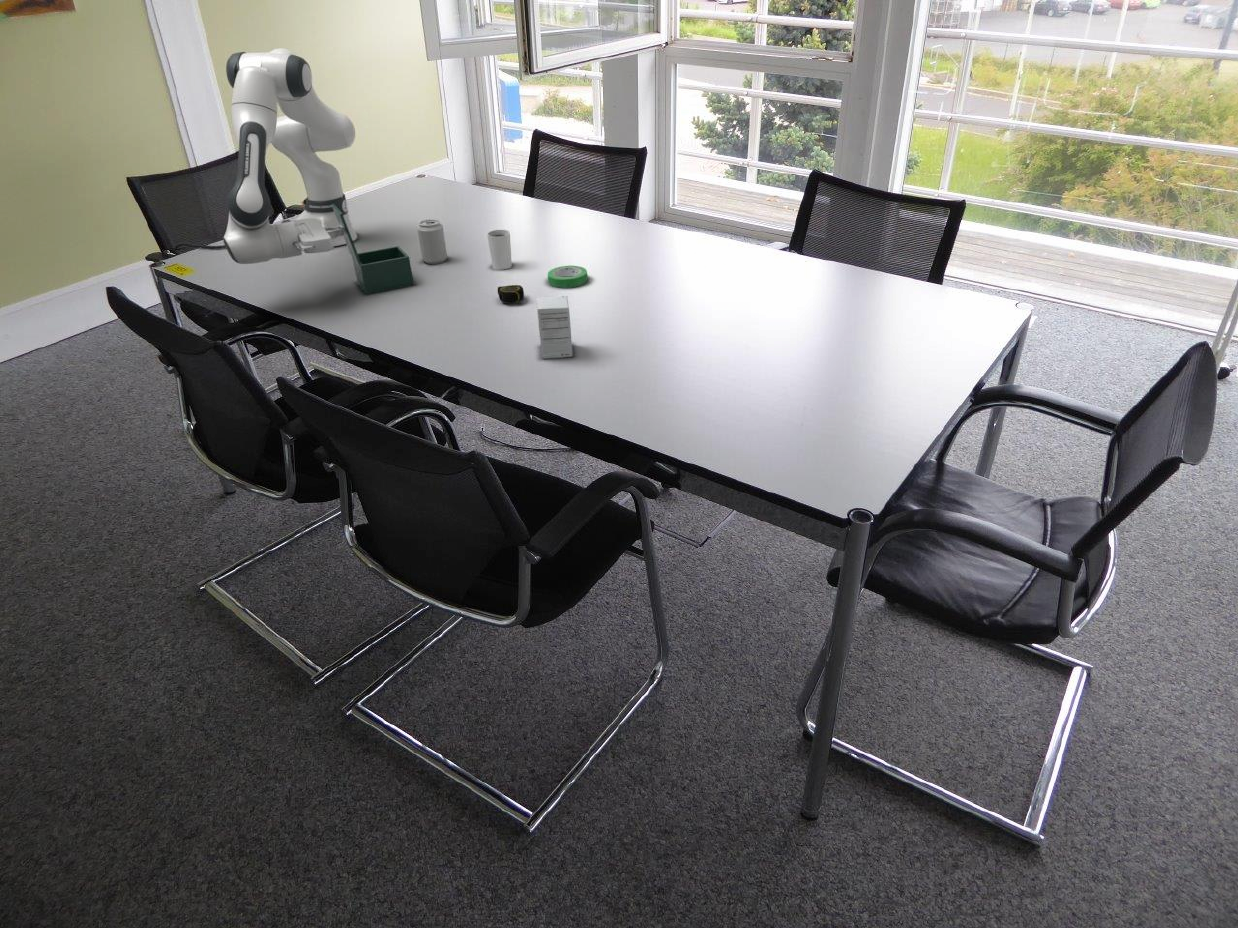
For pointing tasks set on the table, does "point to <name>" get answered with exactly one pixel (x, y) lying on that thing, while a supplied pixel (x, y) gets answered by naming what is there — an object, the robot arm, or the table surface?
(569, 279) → the tape roll
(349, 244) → the tin lid
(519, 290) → the tape measure
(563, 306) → the white packaging box
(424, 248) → the can
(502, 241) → the white cup
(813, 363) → the table surface
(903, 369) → the table surface
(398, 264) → the tin
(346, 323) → the table surface
